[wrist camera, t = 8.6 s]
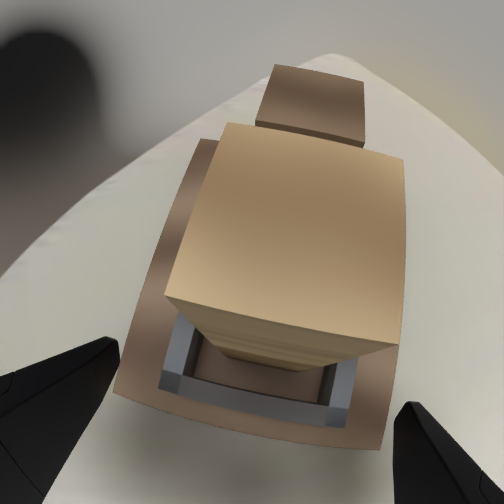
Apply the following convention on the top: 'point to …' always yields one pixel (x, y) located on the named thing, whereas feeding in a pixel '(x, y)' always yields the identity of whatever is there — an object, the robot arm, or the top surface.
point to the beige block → (294, 250)
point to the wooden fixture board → (244, 373)
